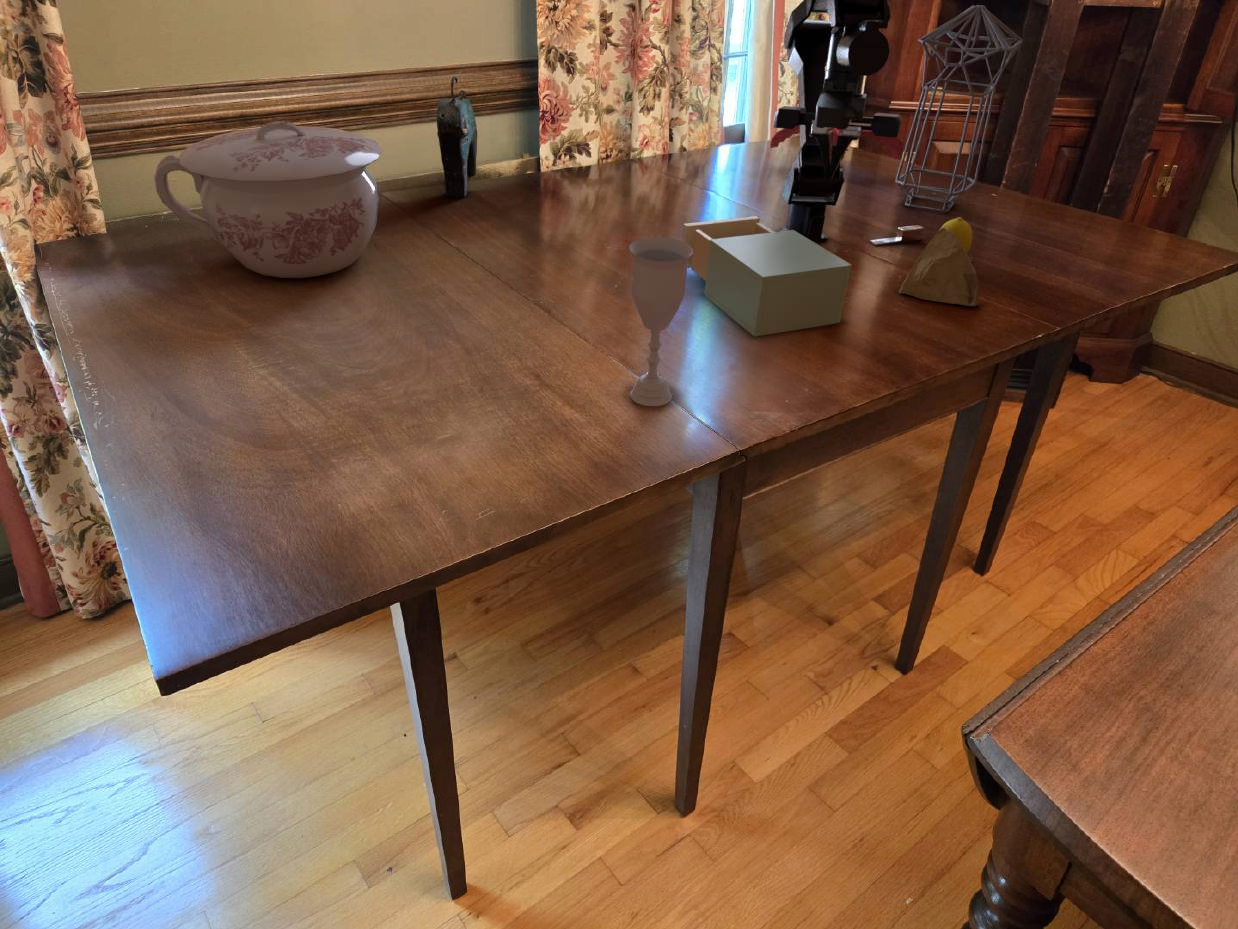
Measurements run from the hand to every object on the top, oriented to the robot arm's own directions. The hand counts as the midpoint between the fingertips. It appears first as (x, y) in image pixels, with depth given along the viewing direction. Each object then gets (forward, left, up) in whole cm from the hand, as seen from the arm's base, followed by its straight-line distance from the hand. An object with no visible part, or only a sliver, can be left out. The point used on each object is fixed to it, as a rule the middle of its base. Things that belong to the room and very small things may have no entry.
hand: (828, 179), depth 131 cm
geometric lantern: (-17, +39, -13) cm, 44 cm away
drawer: (+3, -18, -12) cm, 22 cm away
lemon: (+10, +20, -13) cm, 25 cm away
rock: (+21, +9, -13) cm, 26 cm away
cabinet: (+16, -18, -13) cm, 27 cm away
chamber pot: (-22, -79, -13) cm, 83 cm away
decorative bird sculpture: (-46, +36, -13) cm, 60 cm away
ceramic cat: (-55, -46, -13) cm, 73 cm away
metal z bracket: (-2, +19, -13) cm, 23 cm away
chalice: (+33, -45, -13) cm, 58 cm away
